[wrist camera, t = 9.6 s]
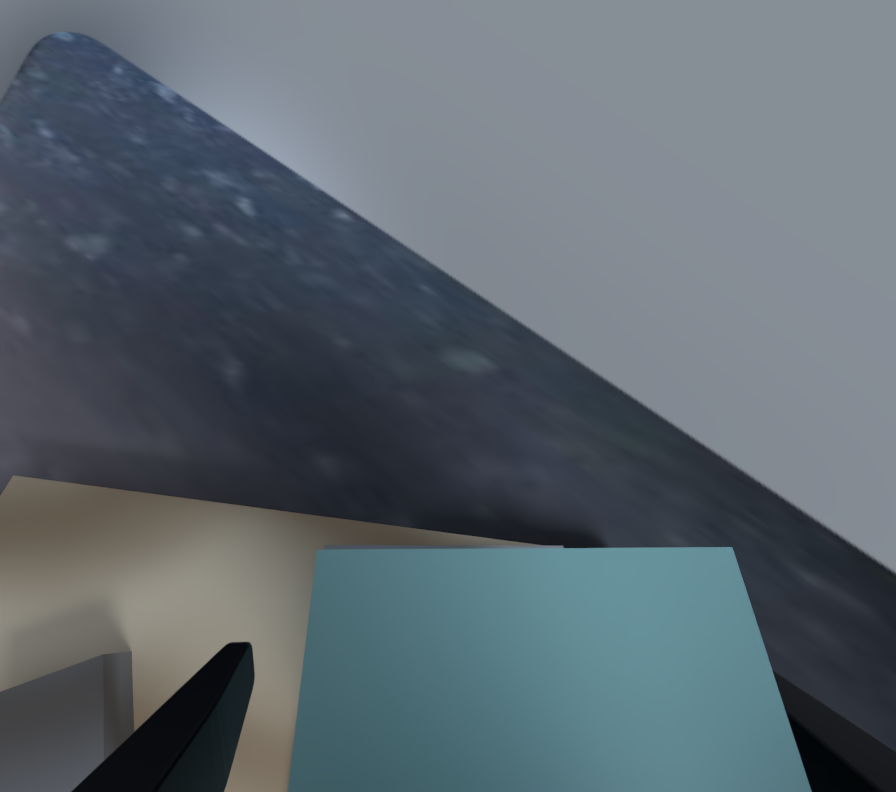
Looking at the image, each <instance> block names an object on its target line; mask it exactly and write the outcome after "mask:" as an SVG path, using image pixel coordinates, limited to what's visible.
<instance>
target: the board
mask: <svg viewBox="0 0 896 792" xmlns="http://www.w3.org/2000/svg"><path fill="white" fill-rule="evenodd" d="M324 545H528V546H544V545H536V544H528V543H521V542H513V541H506V540H498V539H491V538H483V537H476V536H468V535H460V534H453V533H445V532H438V531H430V530H423V529H415V528H408V527H400V526H392V525H385V524H377V523H370V522H362V521H355V520H347V519H339V518H332V517H324V516H317V515H309V514H302V513H294V512H287V511H279V510H271V509H264V508H256V507H249V506H241V505H234V504H226V503H219V502H211V501H203V500H196V499H188V498H181V497H173V496H166V495H158V494H151V493H143V492H135V491H128V490H120V489H113V488H105V487H98V486H90V485H83V484H75V483H67V482H60V481H52V480H45V479H37V478H30V477H22V476H14V475H13V476H12V478H11V480H10V481H9V483H8V484H7V486H6V487H5V489H4V491H3V492H2V494H1V495H0V792H71V791H72V790H73V789H74V788H75V787H76V786H77V785H79V784H80V783H81V782H82V781H83V780H84V779H85V778H86V777H87V776H88V775H89V774H90V773H91V772H92V771H93V770H94V769H95V768H96V767H97V766H99V765H100V764H101V763H102V762H103V761H104V760H105V759H106V758H107V757H108V756H109V755H110V754H111V753H112V752H113V751H114V750H115V749H116V748H117V747H119V746H120V745H121V744H122V743H123V742H124V741H125V740H126V739H127V738H128V737H129V736H130V735H131V734H132V733H133V732H134V731H135V730H136V729H137V728H138V727H140V726H141V725H142V724H143V723H144V722H145V721H146V720H147V719H148V718H149V717H150V716H151V715H152V714H153V713H154V712H155V711H156V710H157V709H158V708H160V707H161V706H162V705H163V704H164V703H165V702H166V701H167V700H168V699H169V698H170V697H171V696H172V695H173V694H174V693H175V692H176V691H177V690H178V689H180V688H181V687H182V686H183V685H184V684H185V683H186V682H187V681H188V680H189V679H190V678H191V677H192V676H193V675H194V674H195V673H196V672H197V671H198V670H200V669H201V668H202V667H203V666H204V665H205V664H206V663H207V662H208V661H209V660H210V659H211V658H212V657H213V656H214V655H215V654H216V653H217V652H218V651H220V650H221V649H222V648H223V647H224V646H225V645H226V644H228V643H230V642H250V643H251V645H252V649H253V660H254V671H255V680H254V686H253V690H252V694H251V698H250V701H249V705H248V709H247V712H246V716H245V720H244V723H243V727H242V731H241V734H240V738H239V742H238V745H237V749H236V753H235V756H234V760H233V764H232V767H231V771H230V774H229V778H228V781H227V785H226V788H225V791H224V792H288V784H289V776H290V768H291V759H292V751H293V743H294V734H295V726H296V718H297V710H298V701H299V693H300V685H301V677H302V668H303V660H304V652H305V644H306V635H307V627H308V619H309V610H310V602H311V594H312V586H313V577H314V569H315V561H316V553H317V550H324Z"/></svg>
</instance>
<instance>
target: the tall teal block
mask: <svg viewBox="0 0 896 792" xmlns="http://www.w3.org/2000/svg"><path fill="white" fill-rule="evenodd" d="M288 792H812V791H811V788H810V785H809V782H808V779H807V776H806V772H805V769H804V766H803V763H802V760H801V757H800V754H799V751H798V748H797V745H796V742H795V739H794V736H793V733H792V729H791V726H790V723H789V720H788V717H787V714H786V711H785V708H784V705H783V702H782V699H781V696H780V693H779V689H778V686H777V683H776V680H775V677H774V674H773V671H772V668H771V665H770V662H769V659H768V656H767V653H766V649H765V646H764V643H763V640H762V637H761V634H760V631H759V628H758V625H757V622H756V619H755V616H754V613H753V610H752V606H751V603H750V600H749V597H748V594H747V591H746V588H745V585H744V582H743V579H742V576H741V573H740V570H739V566H738V563H737V560H736V557H735V554H734V551H733V548H732V547H691V548H514V549H336V550H317V553H316V561H315V569H314V577H313V586H312V594H311V602H310V610H309V619H308V627H307V635H306V644H305V652H304V660H303V668H302V677H301V685H300V693H299V701H298V710H297V718H296V726H295V734H294V743H293V751H292V759H291V768H290V776H289V784H288Z"/></svg>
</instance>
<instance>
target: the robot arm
mask: <svg viewBox="0 0 896 792" xmlns="http://www.w3.org/2000/svg"><path fill="white" fill-rule="evenodd" d="M772 671H773V670H772ZM773 674H774V677H775V680H776V683H777V686H778V689H779V693H780V696H781V699H782V702H783V705H784V708H785V711H786V714H787V717H788V720H789V723H790V726H791V729H792V733H793V736H794V739H795V742H796V745H797V748H798V751H799V754H800V757H801V760H802V763H803V766H804V769H805V772H806V776H807V779H808V782H809V785H810V788H811V791H812V792H896V751H894V750H893V749H891V748H890V747H888V746H887V745H885V744H884V743H882V742H881V741H879V740H878V739H876V738H875V737H873V736H872V735H870V734H869V733H867V732H866V731H864V730H863V729H861V728H860V727H858V726H857V725H855V724H853V723H852V722H850V721H849V720H847V719H846V718H844V717H843V716H841V715H840V714H838V713H837V712H835V711H834V710H832V709H831V708H829V707H828V706H826V705H825V704H823V703H822V702H820V701H819V700H817V699H816V698H814V697H812V696H811V695H809V694H808V693H806V692H805V691H803V690H802V689H800V688H799V687H797V686H796V685H794V684H793V683H791V682H790V681H788V680H787V679H785V678H784V677H782V676H781V675H779V674H778V673H776V672H774V671H773ZM254 680H255V671H254V660H253V649H252V645H251V643H250V642H230V643H228V644H226V645H225V646H224V647H223V648H222V649H221V650H220V651H218V652H217V653H216V654H215V655H214V656H213V657H212V658H211V659H210V660H209V661H208V662H207V663H206V664H205V665H204V666H203V667H202V668H201V669H200V670H198V671H197V672H196V673H195V674H194V675H193V676H192V677H191V678H190V679H189V680H188V681H187V682H186V683H185V684H184V685H183V686H182V687H181V688H180V689H178V690H177V691H176V692H175V693H174V694H173V695H172V696H171V697H170V698H169V699H168V700H167V701H166V702H165V703H164V704H163V705H162V706H161V707H160V708H158V709H157V710H156V711H155V712H154V713H153V714H152V715H151V716H150V717H149V718H148V719H147V720H146V721H145V722H144V723H143V724H142V725H141V726H140V727H138V728H137V729H136V730H135V731H134V732H133V733H132V734H131V735H130V736H129V737H128V738H127V739H126V740H125V741H124V742H123V743H122V744H121V745H120V746H119V747H117V748H116V749H115V750H114V751H113V752H112V753H111V754H110V755H109V756H108V757H107V758H106V759H105V760H104V761H103V762H102V763H101V764H100V765H99V766H97V767H96V768H95V769H94V770H93V771H92V772H91V773H90V774H89V775H88V776H87V777H86V778H85V779H84V780H83V781H82V782H81V783H80V784H79V785H77V786H76V787H75V788H74V789H73V790H72V791H71V792H224V791H225V788H226V785H227V781H228V778H229V774H230V771H231V767H232V764H233V760H234V756H235V753H236V749H237V745H238V742H239V738H240V734H241V731H242V727H243V723H244V720H245V716H246V712H247V709H248V705H249V701H250V698H251V694H252V690H253V686H254Z"/></svg>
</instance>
